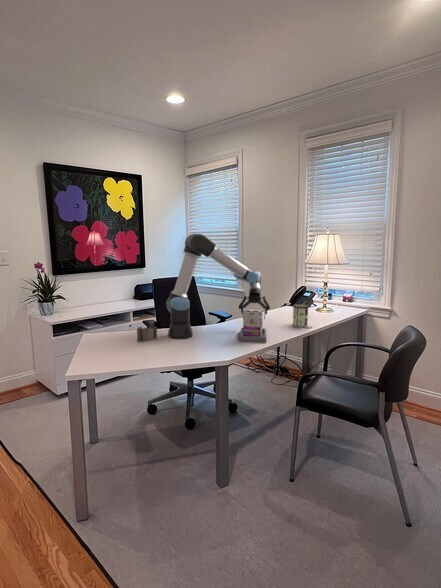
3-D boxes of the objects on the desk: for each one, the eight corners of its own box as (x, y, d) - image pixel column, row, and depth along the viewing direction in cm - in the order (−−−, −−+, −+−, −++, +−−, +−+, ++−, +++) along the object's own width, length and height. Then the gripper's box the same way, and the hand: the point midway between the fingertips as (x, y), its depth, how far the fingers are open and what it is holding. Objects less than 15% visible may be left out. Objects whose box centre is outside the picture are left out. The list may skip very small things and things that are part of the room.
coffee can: (301, 322, 253) (302, 303, 251) (310, 326, 244) (311, 306, 242) (289, 324, 250) (290, 304, 247) (297, 327, 240) (298, 307, 238)
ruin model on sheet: (138, 343, 205) (138, 327, 203) (137, 341, 207) (136, 325, 206) (157, 340, 210) (157, 324, 209) (155, 339, 213) (155, 323, 211)
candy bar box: (262, 336, 216) (263, 309, 214) (260, 338, 212) (260, 311, 209) (245, 334, 221) (245, 308, 218) (242, 336, 216) (243, 309, 213)
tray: (239, 341, 208) (239, 336, 208) (241, 332, 228) (241, 327, 227) (266, 342, 206) (266, 337, 206) (265, 333, 226) (266, 328, 225)
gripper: (273, 294, 239) (273, 321, 227) (236, 293, 242) (234, 320, 230) (273, 288, 233) (273, 315, 221) (236, 287, 236) (234, 314, 224)
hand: (253, 317), depth 225 cm, fingers open, 13 cm apart
